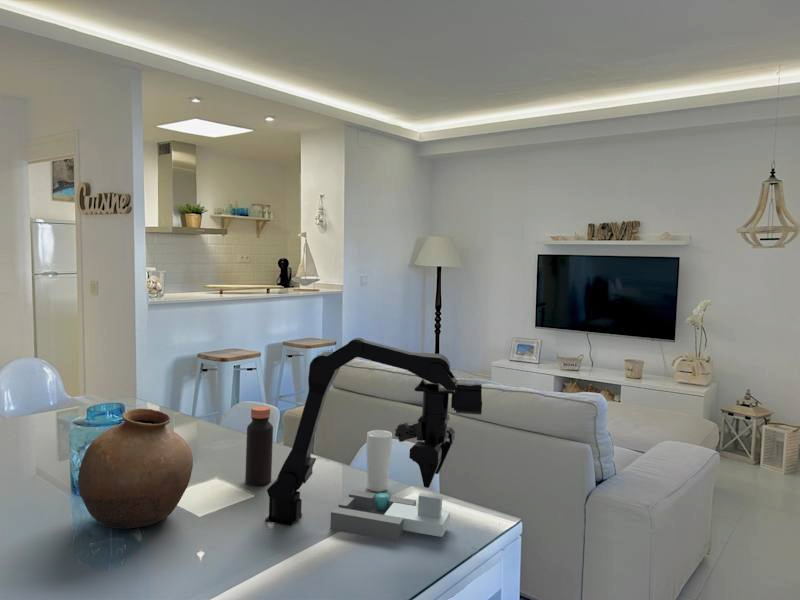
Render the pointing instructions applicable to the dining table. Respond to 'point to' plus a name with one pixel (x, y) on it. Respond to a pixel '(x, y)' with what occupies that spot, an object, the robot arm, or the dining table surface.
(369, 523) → the filter housing
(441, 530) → the white stepped block
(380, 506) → the teal egg-shaped capsule
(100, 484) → the pottery
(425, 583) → the dining table surface
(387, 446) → the drinking glass
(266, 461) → the bottle
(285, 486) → the robot arm
